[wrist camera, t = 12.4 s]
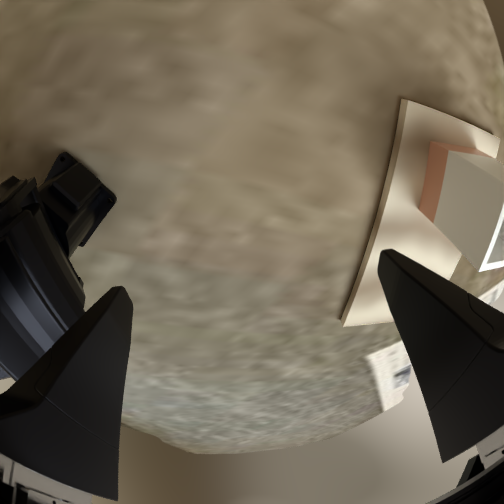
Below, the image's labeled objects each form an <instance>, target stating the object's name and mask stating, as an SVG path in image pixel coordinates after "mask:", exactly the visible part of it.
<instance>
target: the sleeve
mask: <svg viewBox="0 0 504 504" xmlns="http://www.w3.org/2000/svg"><path fill="white" fill-rule="evenodd" d="M418 210H419V211H420V212H421V213H423V214H424V215H425V216H426V217H427V218H428V219H429V220H430V221H431V222H432V223H433V224H434V225H435V226H436V227H437V228H438V229H439V230H440V231H441V232H442V233H443V234H444V235H445V236H446V237H447V238H448V239H449V240H450V241H451V242H452V243H453V244H454V245H455V246H456V247H457V249H458V250H459V251H460V252H461V253H462V254H463V255H464V256H465V257H466V258H467V259H468V261H469V262H470V263H471V264H472V265H473V266H474V267H475V269H476V270H477V271H478V272H481V271H485V270H490V269H494V268H499V267H503V266H504V164H503V163H502V162H500V161H498V160H496V159H495V158H493V157H491V156H489V155H487V154H486V153H484V152H482V151H480V150H478V149H474V148H469V147H464V146H459V145H453V144H447V143H440V142H433V141H430V147H429V155H428V161H427V168H426V174H425V179H424V185H423V190H422V195H421V200H420V205H419V209H418Z"/></svg>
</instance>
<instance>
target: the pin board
mask: <svg viewBox="0 0 504 504" xmlns="http://www.w3.org/2000/svg"><path fill="white" fill-rule="evenodd" d="M430 141H433V142H440V143H447V144H453V145H459V146H464V147H469V148H474V149H478V150H480V151H482V152H484V153H486V154H487V155H489V156H491V157H493V158H495V159H496V156H497V152H498V147H499V143H500V139H499V138H497V137H495V136H493V135H491V134H490V133H488V132H486V131H484V130H482V129H479V128H477V127H475V126H473V125H471V124H469V123H467V122H464V121H462V120H460V119H457V118H455V117H453V116H450V115H448V114H445V113H443V112H440V111H438V110H435V109H432V108H430V107H427V106H424V105H421V104H418V103H415V102H412V101H409V100H406V99H401V105H400V111H399V117H398V123H397V129H396V134H395V139H394V144H393V149H392V154H391V159H390V163H389V168H388V172H387V176H386V181H385V185H384V189H383V193H382V196H381V200H380V204H379V208H378V211H377V215H376V218H375V222H374V225H373V229H372V232H371V235H370V239H369V242H368V245H367V248H366V251H365V254H364V258H363V261H362V264H361V267H360V269H359V272H358V275H357V278H356V281H355V284H354V286H353V289H352V292H351V295H350V297H349V300H348V303H347V305H346V308H345V310H344V313H343V315H342V318H341V323H342V325H343V327H345V326H356V325H367V324H377V323H386V322H394V319H393V317H392V315H391V312H390V309H389V307H388V304H387V301H386V297H385V294H384V291H383V288H382V285H381V283H380V280H379V277H378V273H377V268H378V262H379V256H380V252H381V251H382V250H384V249H394V250H396V251H398V252H399V253H401V254H403V255H405V256H407V257H409V258H410V259H412V260H414V261H416V262H418V263H419V264H421V265H423V266H425V267H426V268H428V269H430V270H432V271H433V272H435V273H437V274H439V275H440V276H442V277H444V278H445V279H447V280H449V279H450V277H451V275H452V273H453V271H454V269H455V267H456V265H457V263H458V261H459V259H460V257H461V255H462V253H461V252H460V251H459V250H458V249H457V247H456V246H455V245H454V244H453V243H452V242H451V241H450V240H449V239H448V238H447V237H446V236H445V235H444V234H443V233H442V232H441V231H440V230H439V229H438V228H437V227H436V226H435V225H434V224H433V223H432V222H431V221H430V220H429V219H428V218H427V217H426V216H425V215H424V214H423V213H421V212H420V211H419V210H418V209H419V205H420V200H421V195H422V190H423V185H424V179H425V174H426V168H427V161H428V155H429V147H430Z"/></svg>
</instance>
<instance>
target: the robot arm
mask: <svg viewBox="0 0 504 504" xmlns="http://www.w3.org/2000/svg"><path fill="white" fill-rule="evenodd" d="M62 157H64V158H65V161H64V160H63V158H62ZM36 185H37V183H36V180H35V177H33V178H31V179H29V180H27V179H25V180H19V179H17V178H16V177H14V176H12V177H10V178H8V179H7V180H5V181H4V182H2V183H1V184H0V380H1V379H6V378H10V377H12V378H13V379H14V380H15V381H16V382H15V383H14V384H13V385H12V386H11V387H10V388H9V389H8V390H7V391H5V392H4V393H2V394H0V504H91V500H92V495H96V496H99V497H103V498H106V499H110V500H114V501H118V463H119V450H118V449H119V439H120V425H121V414H122V404H123V395H124V386H125V378H126V371H127V364H128V358H129V351H130V344H131V330H132V317H133V304H132V301H131V299H130V297H129V295H128V293H127V291H126V289H125V288H124V287H123V286H115V287H112V288H111V289H110V290H109V291H108V292H107V293H105V294H104V295H103V296H102V297H101V298H100V299H99V300H98V301H97V302H96V303H95V304H94V305H93V306H92V307H91V308H90V309H89V310H87V311H86V312H85V311H84V309H83V308H84V303H85V294H84V290H83V281H82V280H81V278H80V277H78V275H77V273H76V272H75V270H74V268H73V266H72V264H71V262H70V260H69V259H70V257H71V256H72V254H73V253H74V251H75V250H76V248H77V247H78V246H81V247H83V246H84V245H85V244H86V242H87V241H88V239H89V238H90V237H91V235H92V234H93V232H94V231H95V230H96V228H97V227H98V225H99V224H100V223H101V221H102V220H103V219H104V217H105V216H106V215H107V213H108V212H109V211H110V209H111V208H112V207H113V206H114V204H115V203H116V201H117V198H116V196H115V195H114V194H113V193H112V192H111V191H110V190H108V189H107V188H106V187H105V186H104V185H103V184H102V183H101V182H100V180H99V179H98V178H96V177H95V176H94V175H93V174H92V173H91V172H90V171H89V170H87V169H86V168H85V167H84V166H83V165H82V164H81V163H78V162H77V161H76V160H75V159H74V158H73V157H71V156H70V155H69V154H68V153H67V152H63V153H61V154H60V155H59V156H58V157H57V159H56V161H55V163H54V165H53V166H52V168H51V170H50V172H49V174H48V176H47V178H46V180H45V182H44V184H42V185H41V186H40V187H39V188H37V187H36ZM109 198H111V199H112V202H111V201H109ZM81 241H82V242H81ZM377 273H378V277H379V280H380V283H381V285H382V288H383V291H384V294H385V297H386V301H387V304H388V307H389V309H390V312H391V315H392V317H393V319H394V321H395V324H396V326H397V329H398V331H399V333H400V336H401V338H402V341H403V343H404V345H405V348H406V351H407V353H408V356H409V358H410V361H411V363H412V366H413V369H414V371H415V374H416V377H417V380H418V382H419V385H420V388H421V391H422V394H423V397H424V400H425V403H426V406H427V409H428V412H429V416H430V420H431V423H432V426H433V430H434V434H435V437H436V440H437V445H438V448H439V452H440V456H441V460H442V463H444V462H446V461H448V460H450V459H452V458H454V457H456V456H457V455H459V454H461V453H463V452H465V451H466V450H468V449H470V448H471V447H473V446H475V445H476V446H477V450H478V452H479V454H477V455H476V456H474V457H473V458H471V459H469V460H468V463H467V465H466V467H465V470H464V472H463V474H462V477H461V479H460V481H459V483H458V485H457V487H456V488H455V489H453V490H451V491H450V492H448V493H446V494H444V495H442V496H440V497H439V498H436V499H434V500H432V501H430V502H428V503H426V504H504V313H502V312H500V311H498V310H497V309H495V308H493V307H491V306H490V305H488V304H486V303H485V302H483V301H481V300H480V299H478V298H476V297H475V296H473V295H472V294H470V293H467V291H465V290H464V289H462V288H460V287H459V286H457V285H455V284H454V283H452V282H450V281H449V280H447V279H445V278H444V277H442V276H440V275H439V274H437V273H435V272H433V271H432V270H430V269H428V268H426V267H425V266H423V265H421V264H419V263H418V262H416V261H414V260H412V259H410V258H409V257H407V256H405V255H403V254H401V253H399V252H398V251H396V250H394V249H384V250H382V251H381V252H380V256H379V262H378V268H377Z"/></svg>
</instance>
